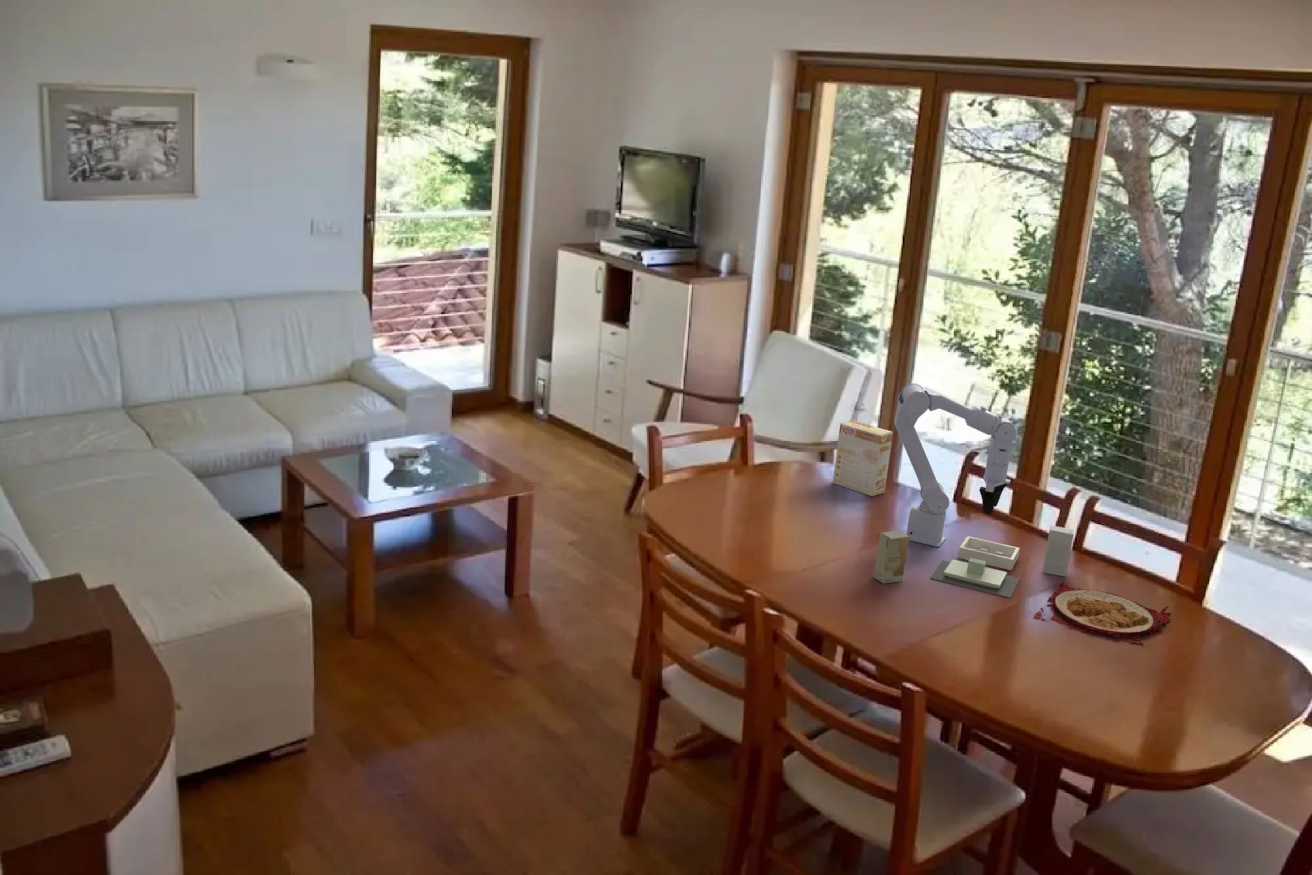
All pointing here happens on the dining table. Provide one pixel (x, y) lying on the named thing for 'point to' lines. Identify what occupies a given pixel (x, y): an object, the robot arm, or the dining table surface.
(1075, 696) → the dining table surface
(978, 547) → the parts tray
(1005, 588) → the mat
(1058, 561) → the skincare box
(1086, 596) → the plate with food
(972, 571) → the lid
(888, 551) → the skincare box
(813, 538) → the dining table surface
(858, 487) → the coffeecake box
